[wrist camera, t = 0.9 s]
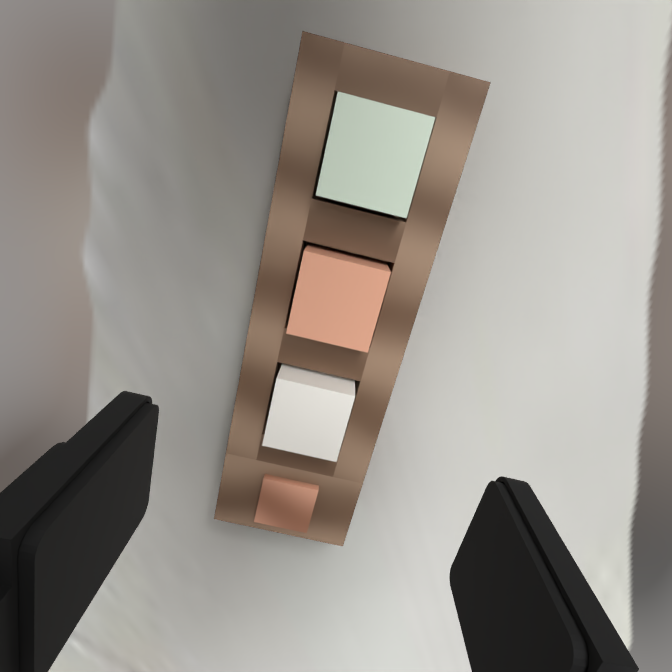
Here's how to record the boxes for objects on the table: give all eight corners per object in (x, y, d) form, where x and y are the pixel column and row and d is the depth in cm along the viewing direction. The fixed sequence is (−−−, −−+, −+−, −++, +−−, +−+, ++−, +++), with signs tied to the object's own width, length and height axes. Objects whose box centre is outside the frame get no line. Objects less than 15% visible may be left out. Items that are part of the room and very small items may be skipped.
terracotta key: (308, 243, 27) (303, 250, 24) (386, 262, 27) (390, 272, 24) (292, 317, 28) (286, 333, 25) (366, 335, 29) (367, 352, 26)
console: (309, 53, 26) (301, 27, 21) (470, 97, 26) (493, 80, 22) (228, 484, 36) (212, 523, 32) (343, 508, 37) (342, 551, 32)
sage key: (339, 102, 24) (338, 91, 21) (424, 125, 24) (435, 117, 21) (319, 194, 26) (315, 195, 23) (399, 214, 26) (406, 218, 23)
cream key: (284, 358, 29) (276, 378, 26) (354, 374, 30) (355, 396, 27) (270, 420, 31) (262, 445, 28) (337, 435, 31) (336, 462, 28)
